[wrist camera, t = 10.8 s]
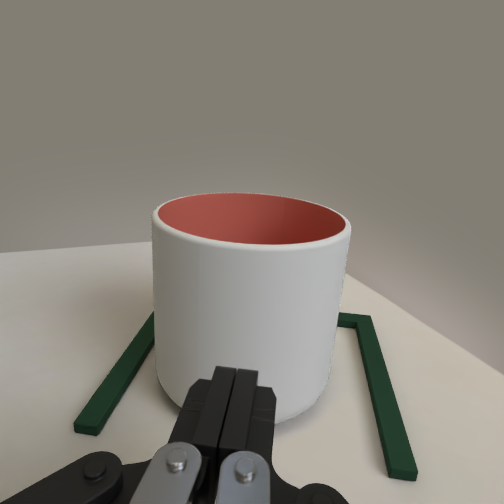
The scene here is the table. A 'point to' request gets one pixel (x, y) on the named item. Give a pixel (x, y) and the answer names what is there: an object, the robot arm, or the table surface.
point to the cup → (248, 292)
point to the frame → (375, 368)
